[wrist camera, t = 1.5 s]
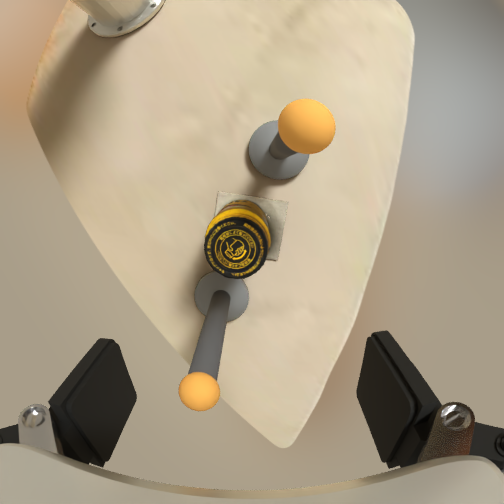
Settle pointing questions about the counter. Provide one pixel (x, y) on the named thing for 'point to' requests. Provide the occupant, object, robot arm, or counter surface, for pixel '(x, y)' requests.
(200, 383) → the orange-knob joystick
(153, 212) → the counter surface
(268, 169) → the stand
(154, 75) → the counter surface
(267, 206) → the condiment
